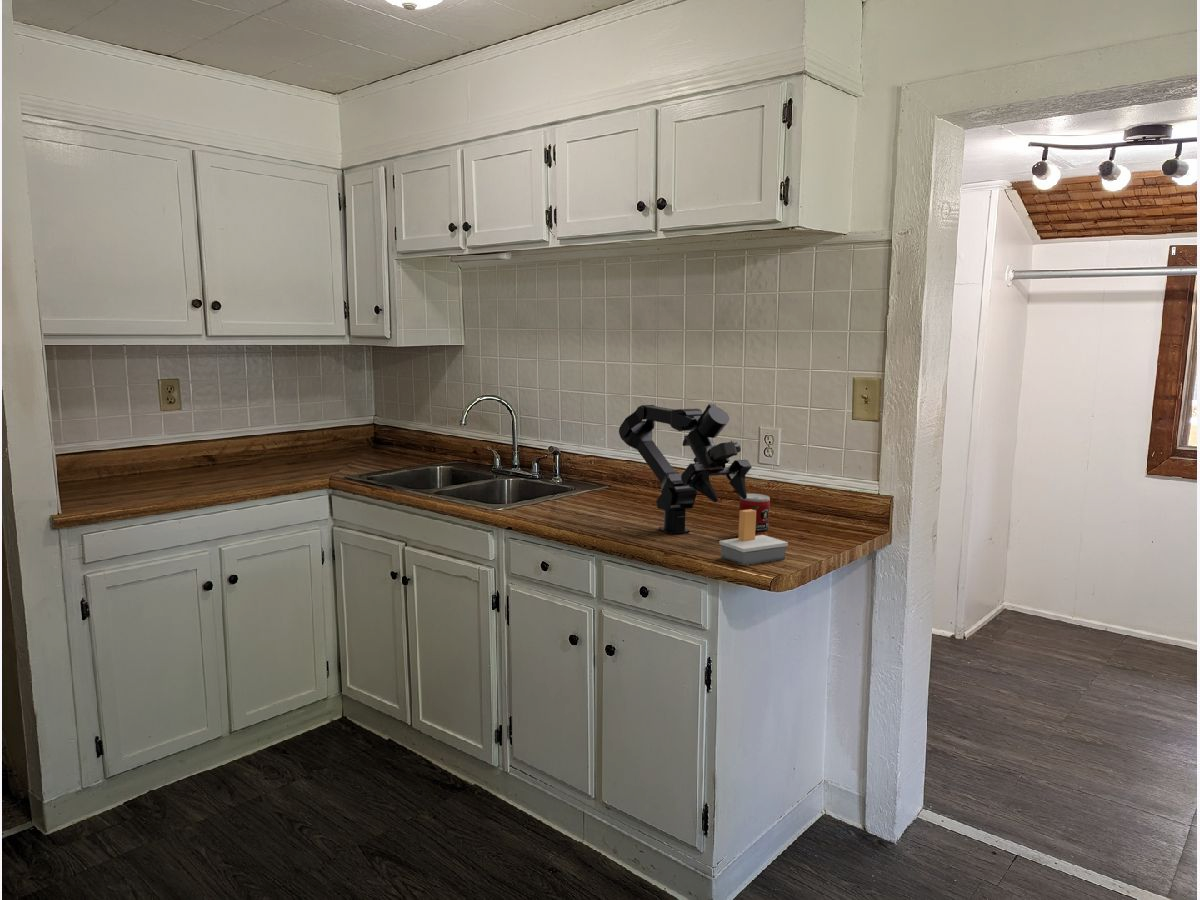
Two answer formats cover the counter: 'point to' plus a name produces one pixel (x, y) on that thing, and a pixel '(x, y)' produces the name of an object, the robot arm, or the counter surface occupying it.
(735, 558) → the tub
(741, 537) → the lid
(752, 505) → the canned food
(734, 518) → the counter surface
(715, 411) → the robot arm
